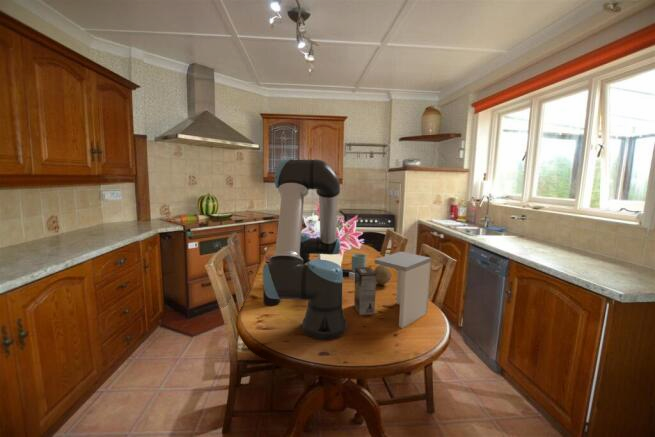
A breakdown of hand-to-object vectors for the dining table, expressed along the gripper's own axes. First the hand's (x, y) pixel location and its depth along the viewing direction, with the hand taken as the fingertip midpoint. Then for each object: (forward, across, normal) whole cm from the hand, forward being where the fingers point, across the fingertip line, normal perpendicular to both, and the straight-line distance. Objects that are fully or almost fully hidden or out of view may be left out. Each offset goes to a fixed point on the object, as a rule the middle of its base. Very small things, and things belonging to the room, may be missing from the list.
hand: (350, 282), depth 124 cm
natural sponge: (-3, -28, -9) cm, 29 cm away
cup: (-22, -33, -9) cm, 40 cm away
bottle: (-22, +23, -9) cm, 34 cm away
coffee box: (+8, 0, -9) cm, 12 cm away
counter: (+20, -6, -9) cm, 23 cm away
